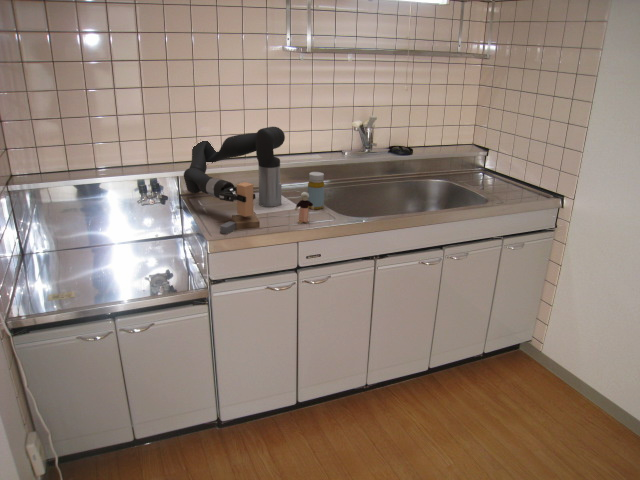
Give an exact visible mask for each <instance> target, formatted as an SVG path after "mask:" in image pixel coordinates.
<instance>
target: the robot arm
mask: <svg viewBox="0 0 640 480" xmlns="http://www.w3.org/2000/svg"><path fill="white" fill-rule="evenodd" d="M285 139H286V136H285V132H284V131H283V130H282V129H281V128H280V127H278V126H268V127H262V128H260V129H259V130H257V132H251V133H249V132H248V133H242V134H241V133H240V134H236V135H232V136H228V137H227V138H225V139H224V141H223V142H222V143H221V147H220V149H218V150H219V151H217V150H216V149H215V148H213V147H214V146H213V145H212V146H213V147H212V146H211V144H212V143H211V142H210V143H211V144H210V143H209V142H208V141H202V142H200V143H198V144H197V145H196V146H194V147H193V146H192V147H193V149H192V148H191V163H190V165H189V168H187V169H186V170H185V171H184V172H183V179H184V183H185V185H186V186H185V187H186V189H187V191H188V192H189V193H190V194H199V193H201V192H202V193H204V194H207V195H209V196H211V197H214V198H216V199H219V200H220V201H226V202H232V203H233V202H234V201H236V202H237V201H241V202H246V197H245V196H242V195H238V194H237V186H235V185H234V184H233V182H231V181H227V180H225V179H221V178H215V177H213V176H209V175H208V174H207V173H206V172H207V168H208V167H207V165H208V164H207V165H206V162H212V163H211V164H214V163H217V162H221V161H223V160H226V159H233V158H237V157H242V156H245V155H249V154H252V153H255V154H256V159H257V162H258V205H260V206H262V207H268V208H269V207H270V208H271V207H272V208H273V207H277V206H280V205H281V206H282V191H283V190H282V188H283V187H282V185H283V184H282V183H281V159H280V157H277V156H275V155H274V154H275V153H274V150H276V149H278V148H280V147H281V146H282V145H283V144H284V142H285ZM214 149H215V150H216V151H217V152H216V151H215V150H214ZM213 162H214V163H213ZM256 197H257V196H256V193H254V192H253V201H255V200H256V199H257V198H256Z"/></svg>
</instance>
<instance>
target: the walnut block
mask: <svg viewBox="0 0 640 480" xmlns="http://www.w3.org/2000/svg"><path fill="white" fill-rule="evenodd" d="M231 217H232V220H231V222H236V230H237V231H238V230H249V229H258V228H259V229H260V220H259V218H258V217H257V215H256V213H254V214H252V215H249V216H246V217H244V216H242V215H239V214H232V216H231ZM236 230H235V231H236Z"/></svg>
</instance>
